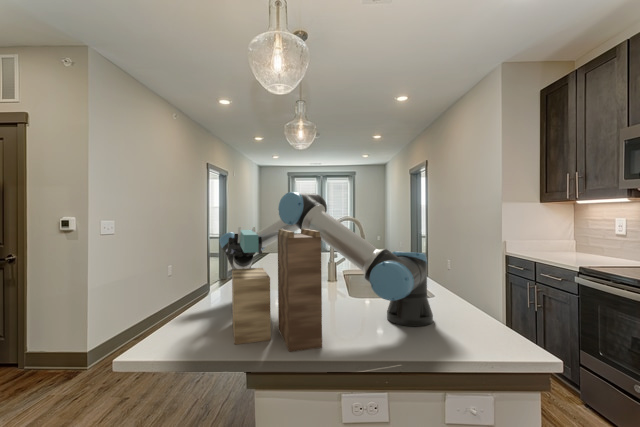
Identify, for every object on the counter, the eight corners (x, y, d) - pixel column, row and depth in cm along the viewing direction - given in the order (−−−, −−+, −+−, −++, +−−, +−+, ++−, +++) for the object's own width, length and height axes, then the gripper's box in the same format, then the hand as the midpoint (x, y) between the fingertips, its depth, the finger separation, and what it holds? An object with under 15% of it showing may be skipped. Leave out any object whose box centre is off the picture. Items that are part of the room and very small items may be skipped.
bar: (239, 243, 116) (239, 230, 116) (250, 243, 117) (250, 229, 117) (244, 252, 91) (244, 235, 91) (258, 252, 92) (258, 234, 92)
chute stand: (278, 329, 101) (277, 229, 101) (306, 326, 104) (305, 228, 104) (289, 352, 85) (288, 232, 85) (322, 347, 88) (321, 231, 88)
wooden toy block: (232, 323, 107) (232, 269, 107) (262, 320, 110) (262, 267, 110) (234, 344, 90) (234, 280, 90) (270, 340, 93) (270, 277, 93)
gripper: (265, 265, 127) (273, 240, 108) (220, 268, 123) (220, 242, 103) (264, 248, 131) (271, 220, 112) (220, 249, 126) (219, 221, 107)
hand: (246, 231), depth 107 cm, fingers closed on bar, 4 cm apart
